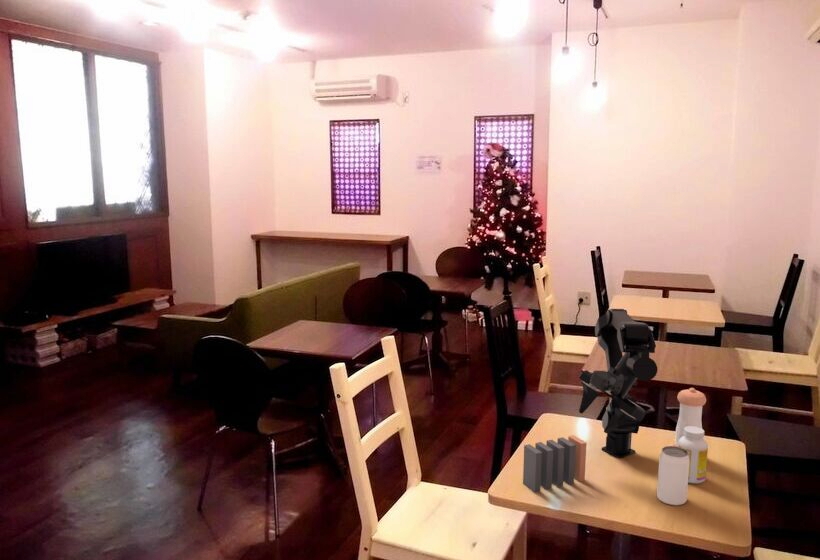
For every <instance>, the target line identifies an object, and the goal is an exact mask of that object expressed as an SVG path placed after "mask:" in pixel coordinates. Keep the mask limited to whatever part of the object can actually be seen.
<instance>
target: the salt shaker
mask: <svg viewBox="0 0 820 560" xmlns="http://www.w3.org/2000/svg"><path fill="white" fill-rule="evenodd" d="M677 401H678V402H679V413H678V420H677V423H676V427H675V434H674V435H675V436H674V441H673V444H672V446H675V447H678V445H679V439H680V438H681V437H683V436H684V433H683V432H684V428H685V427H687V426H694V427H699V428H701V429H703V425H702V414H703V406H705V404H706V402H707V398H706V395H705V394H704V393H703V392H701V391H699V390H696V389H695V388H694V387H690V388H688V389H682V390H680V391H679V392H678V394H677Z"/></svg>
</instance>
